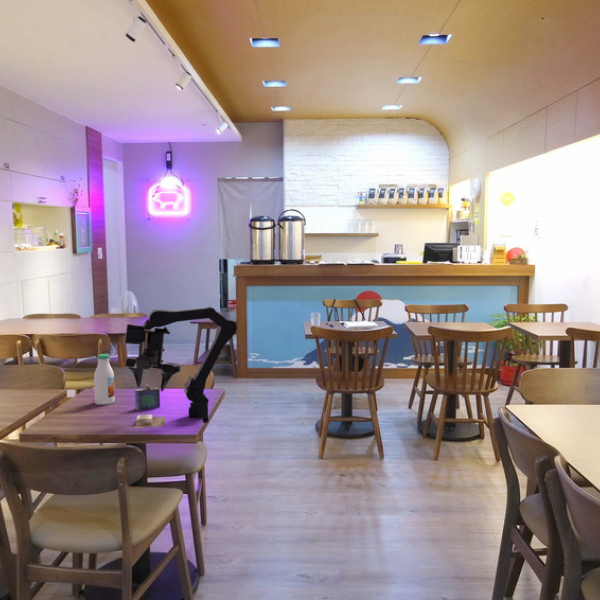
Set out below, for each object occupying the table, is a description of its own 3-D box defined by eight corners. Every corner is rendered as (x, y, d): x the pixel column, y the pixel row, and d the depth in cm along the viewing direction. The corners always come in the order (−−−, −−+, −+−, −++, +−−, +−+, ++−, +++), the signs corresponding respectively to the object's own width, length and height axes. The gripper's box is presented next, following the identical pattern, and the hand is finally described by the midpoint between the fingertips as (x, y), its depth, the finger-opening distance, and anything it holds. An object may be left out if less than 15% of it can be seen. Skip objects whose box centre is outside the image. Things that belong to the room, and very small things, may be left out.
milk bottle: (102, 406, 224) (100, 356, 222) (91, 403, 228) (89, 354, 227) (118, 402, 230) (117, 354, 228) (107, 399, 235) (106, 352, 233)
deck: (165, 420, 203) (165, 416, 203) (164, 430, 191) (164, 426, 191) (137, 422, 201) (136, 418, 201) (134, 432, 189) (134, 428, 189)
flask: (135, 413, 213) (134, 386, 212) (135, 411, 215) (134, 384, 215) (160, 411, 216) (159, 384, 215) (159, 409, 218) (159, 382, 218)
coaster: (152, 420, 199) (152, 414, 199) (151, 424, 194) (151, 418, 194) (137, 421, 198) (137, 415, 198) (136, 425, 193) (136, 419, 193)
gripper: (118, 343, 191) (113, 388, 192) (167, 351, 187) (162, 397, 187) (135, 341, 202) (131, 383, 203) (182, 348, 198) (178, 392, 198)
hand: (150, 389), depth 197 cm, fingers open, 9 cm apart
